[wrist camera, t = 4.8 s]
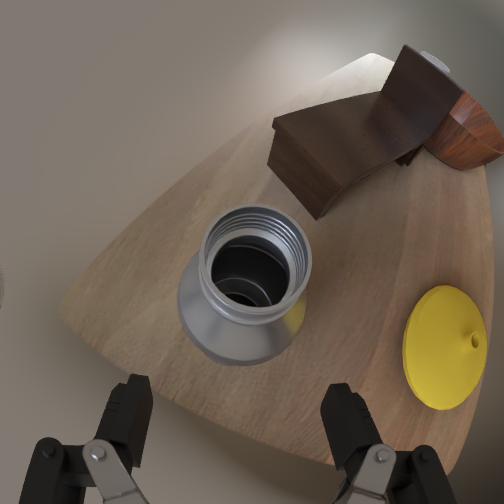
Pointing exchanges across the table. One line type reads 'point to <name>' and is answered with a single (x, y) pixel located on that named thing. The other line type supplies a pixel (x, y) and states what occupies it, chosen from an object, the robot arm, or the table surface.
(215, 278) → the plastic bottle
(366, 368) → the table surface
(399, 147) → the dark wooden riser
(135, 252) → the table surface
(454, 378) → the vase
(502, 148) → the bowl
